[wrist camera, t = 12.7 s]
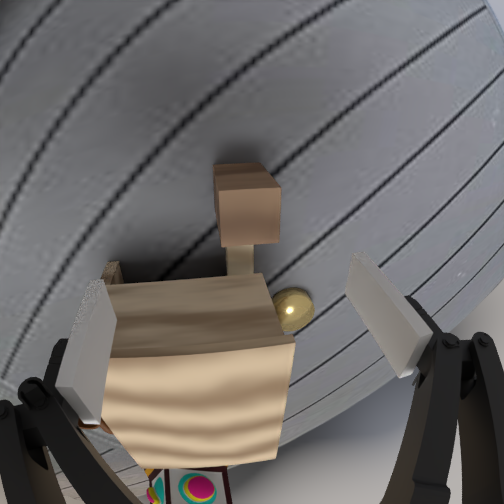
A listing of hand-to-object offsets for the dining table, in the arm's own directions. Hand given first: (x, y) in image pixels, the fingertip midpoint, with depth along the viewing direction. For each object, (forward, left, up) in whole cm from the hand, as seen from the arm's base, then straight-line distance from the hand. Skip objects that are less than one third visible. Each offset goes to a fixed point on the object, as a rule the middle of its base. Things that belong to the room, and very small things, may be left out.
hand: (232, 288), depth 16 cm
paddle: (+12, +3, -19) cm, 23 cm away
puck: (+18, +10, -20) cm, 28 cm away
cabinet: (+21, -4, -19) cm, 29 cm away
